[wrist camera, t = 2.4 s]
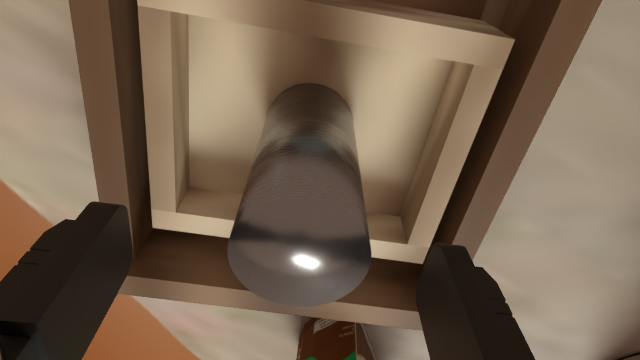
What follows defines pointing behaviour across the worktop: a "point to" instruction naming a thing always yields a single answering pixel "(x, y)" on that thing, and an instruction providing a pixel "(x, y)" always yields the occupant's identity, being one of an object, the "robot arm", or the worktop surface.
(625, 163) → the worktop surface
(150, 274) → the bay
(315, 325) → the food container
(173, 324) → the worktop surface
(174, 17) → the grey beige boxy piece
